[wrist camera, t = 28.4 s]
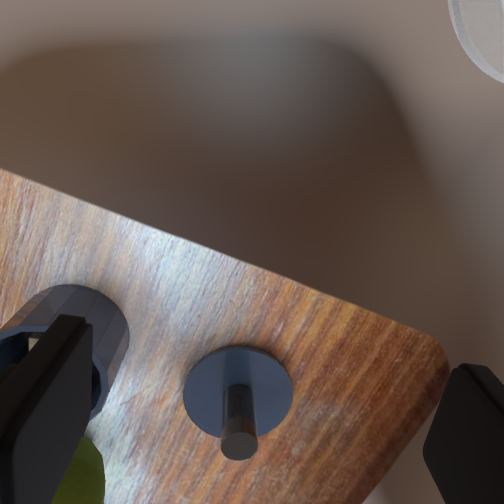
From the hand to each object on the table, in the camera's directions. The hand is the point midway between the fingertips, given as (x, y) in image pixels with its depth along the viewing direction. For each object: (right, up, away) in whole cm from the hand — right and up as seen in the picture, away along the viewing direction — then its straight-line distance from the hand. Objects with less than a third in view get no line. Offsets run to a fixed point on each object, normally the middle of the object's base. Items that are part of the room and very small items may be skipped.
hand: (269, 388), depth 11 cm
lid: (-2, -11, +32) cm, 34 cm away
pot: (-17, -4, +30) cm, 35 cm away
